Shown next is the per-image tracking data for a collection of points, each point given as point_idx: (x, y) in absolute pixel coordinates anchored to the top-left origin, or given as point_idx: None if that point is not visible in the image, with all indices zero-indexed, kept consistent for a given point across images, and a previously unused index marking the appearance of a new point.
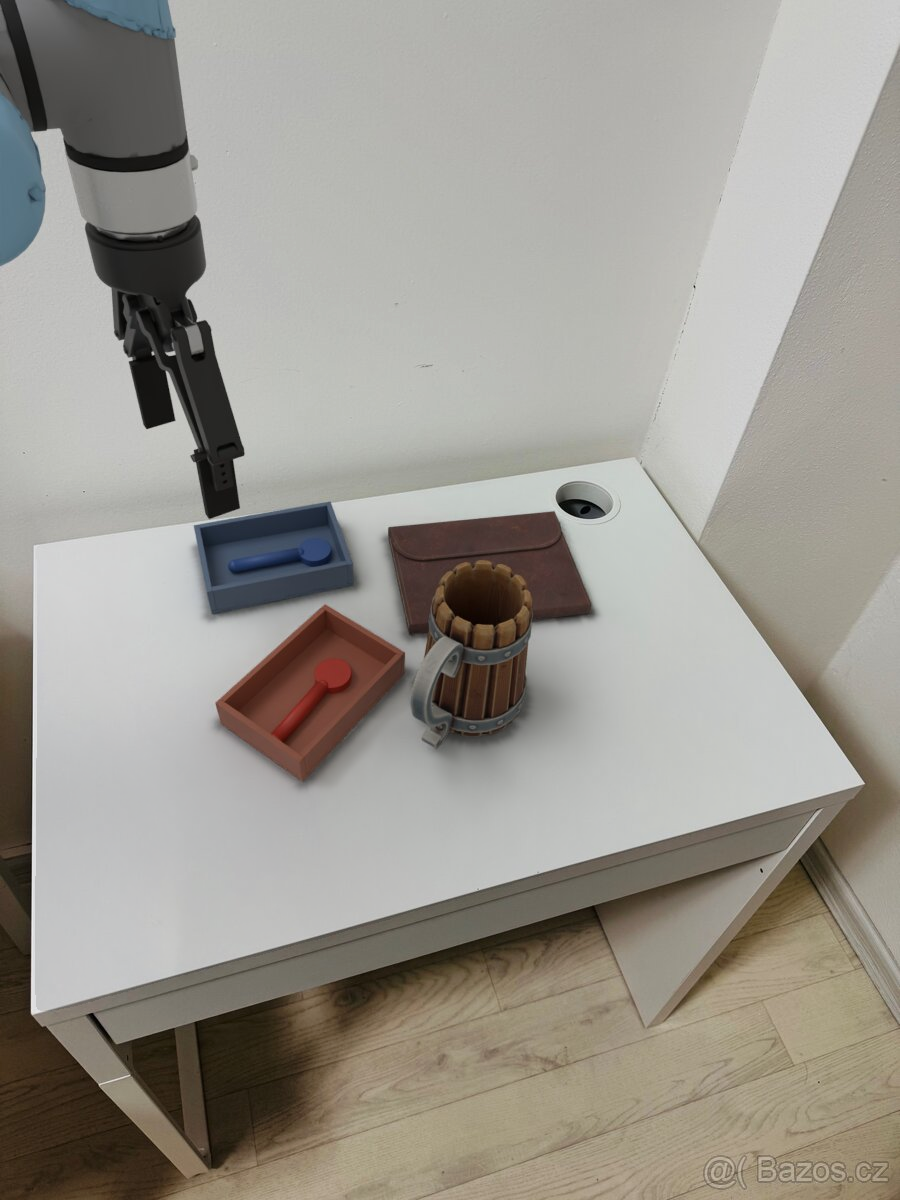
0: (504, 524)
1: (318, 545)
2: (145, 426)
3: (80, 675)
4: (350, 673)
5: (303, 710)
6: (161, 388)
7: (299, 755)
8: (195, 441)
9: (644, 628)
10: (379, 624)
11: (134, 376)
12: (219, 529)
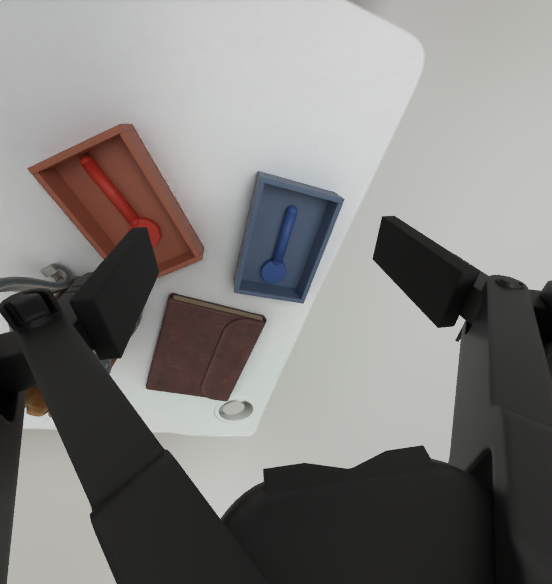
0: (230, 377)
1: (275, 276)
2: (386, 217)
3: (245, 5)
4: None
5: (107, 196)
6: (406, 279)
7: (35, 171)
8: (67, 324)
9: (127, 397)
10: (190, 280)
11: (443, 260)
12: (329, 217)
